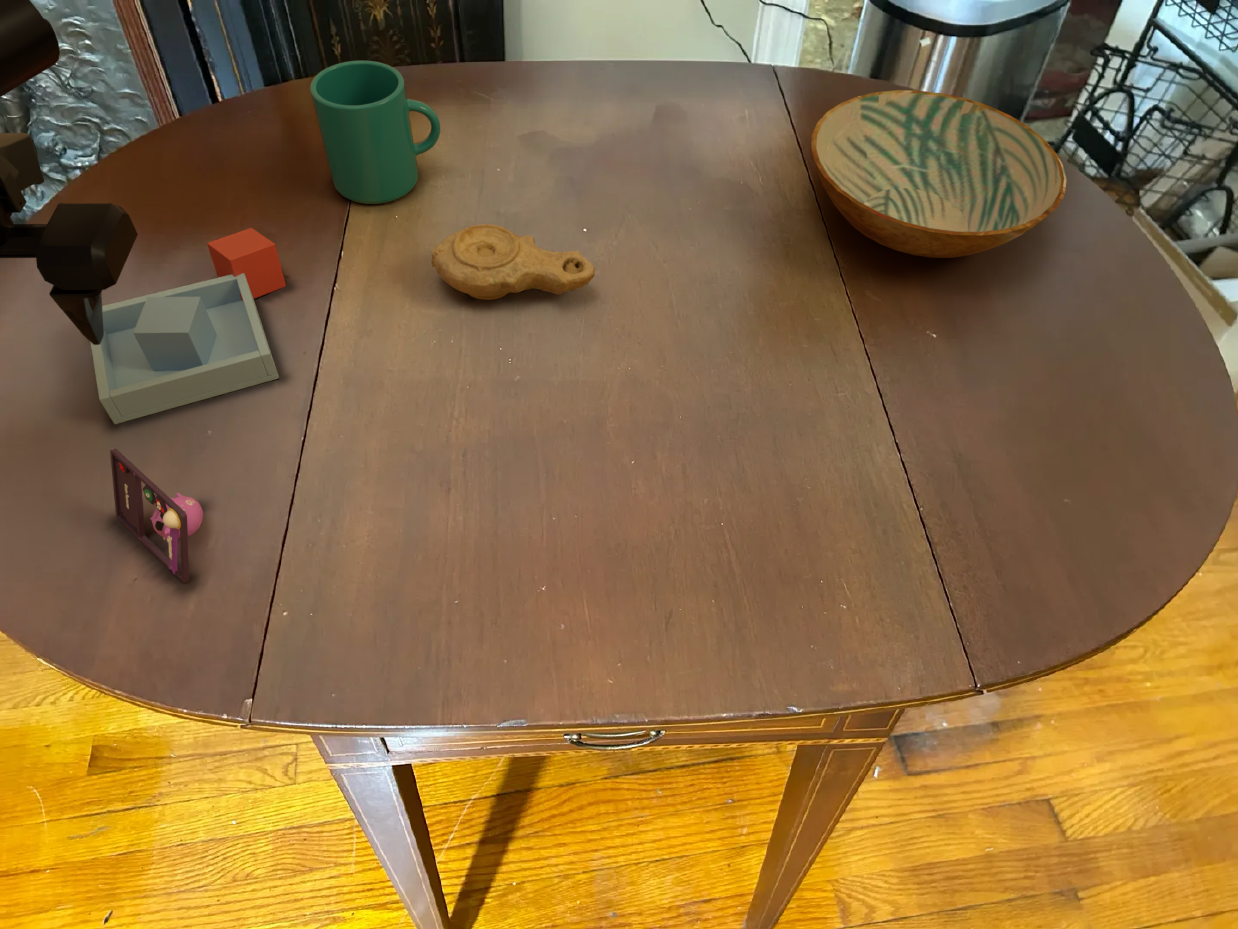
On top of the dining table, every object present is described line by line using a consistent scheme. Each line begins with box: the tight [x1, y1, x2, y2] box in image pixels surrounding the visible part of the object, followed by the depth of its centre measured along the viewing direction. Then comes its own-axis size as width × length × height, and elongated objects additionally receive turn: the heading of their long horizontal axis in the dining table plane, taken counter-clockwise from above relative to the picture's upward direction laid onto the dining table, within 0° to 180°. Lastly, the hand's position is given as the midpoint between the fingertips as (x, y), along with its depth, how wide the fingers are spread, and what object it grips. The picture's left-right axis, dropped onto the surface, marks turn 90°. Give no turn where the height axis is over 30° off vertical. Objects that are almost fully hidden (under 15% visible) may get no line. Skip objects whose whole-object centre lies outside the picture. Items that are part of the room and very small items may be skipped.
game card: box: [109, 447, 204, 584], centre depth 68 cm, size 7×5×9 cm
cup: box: [309, 60, 441, 205], centre depth 94 cm, size 9×12×11 cm
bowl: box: [810, 89, 1068, 259], centre depth 94 cm, size 25×25×8 cm
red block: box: [206, 227, 287, 301], centre depth 86 cm, size 4×4×4 cm
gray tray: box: [89, 273, 280, 425], centre depth 80 cm, size 14×12×3 cm
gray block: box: [133, 297, 216, 371], centre depth 79 cm, size 4×4×4 cm
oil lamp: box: [431, 223, 596, 301], centre depth 87 cm, size 11×14×5 cm
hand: (32, 341), depth 65 cm, fingers open, 9 cm apart
